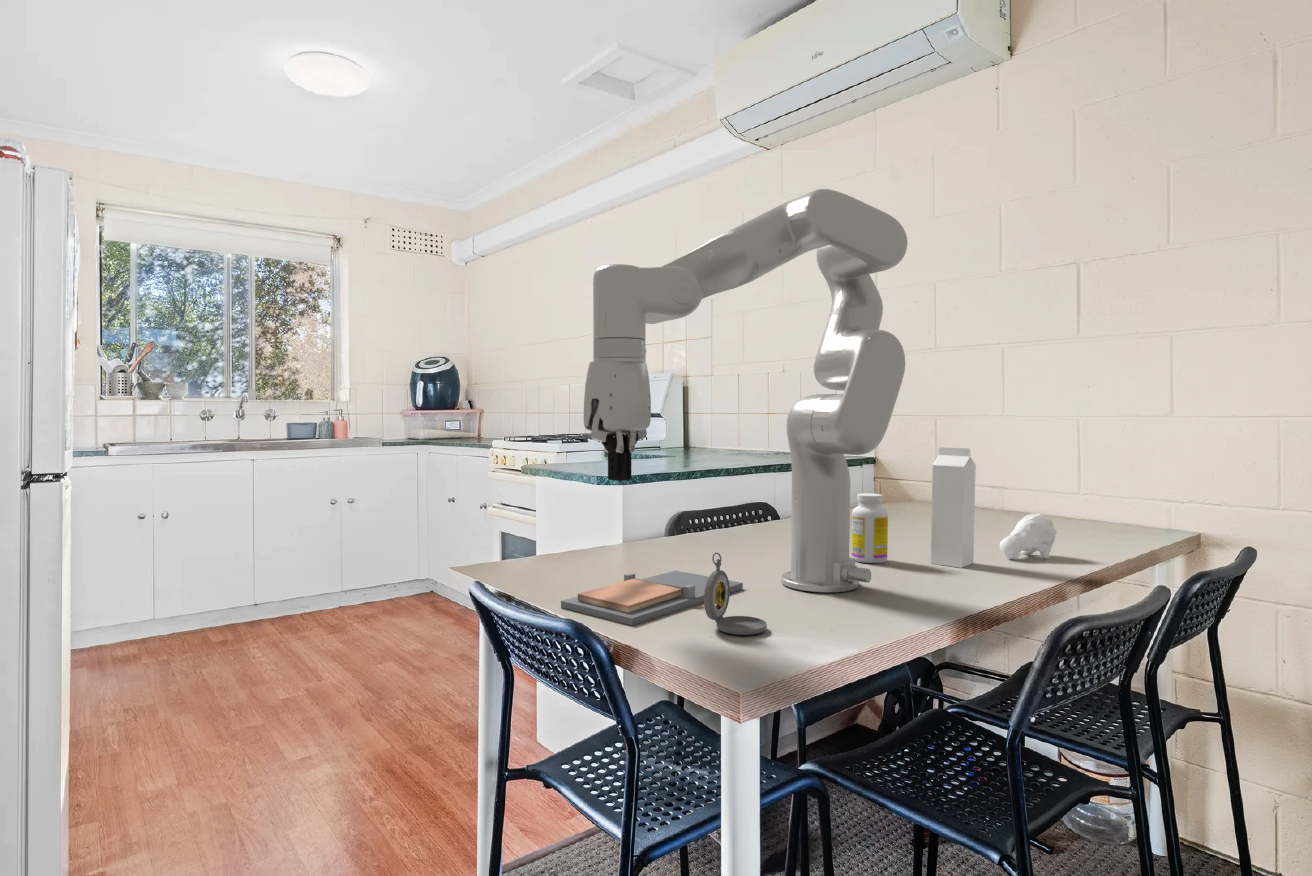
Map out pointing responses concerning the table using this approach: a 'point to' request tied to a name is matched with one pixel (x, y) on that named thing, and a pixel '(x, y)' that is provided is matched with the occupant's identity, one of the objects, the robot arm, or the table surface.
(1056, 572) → the table surface
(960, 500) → the milk
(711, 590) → the pocket watch
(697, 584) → the board
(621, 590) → the tile
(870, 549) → the supplement bottle
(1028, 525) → the white animal figurine
